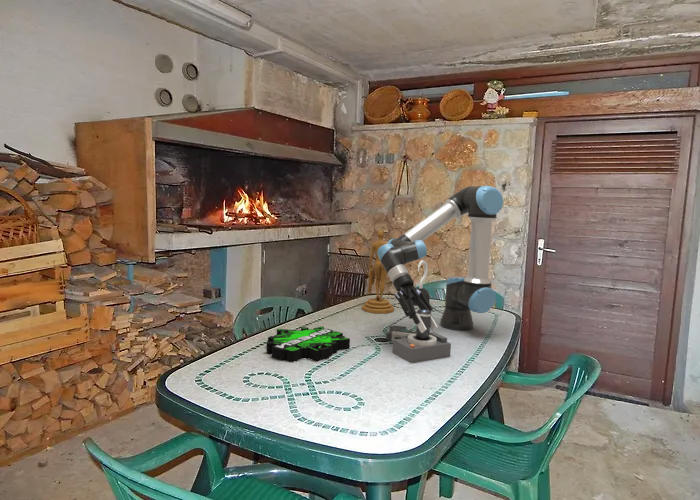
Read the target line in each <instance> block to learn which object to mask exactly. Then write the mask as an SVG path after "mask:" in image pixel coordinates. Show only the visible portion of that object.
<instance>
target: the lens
mask: <svg viewBox="0 0 700 500" xmlns="http://www.w3.org/2000/svg"><path fill="white" fill-rule="evenodd" d="M417 314H419V316H420V318H421V319H422V321H423V323H424V325H425V327H426V328H427V329H426V330H425V331H424V332H423V333H421V332H420V330H419V328H418V326H417V325H416V324H415V325H416V328H415V332H416V339H417V340H424V341H427V340H429V333H431V332H430V331H431V328H430V320H431V315H432V311H430V310H426V309H420V308H419V309H417V312H416V315H417Z"/></svg>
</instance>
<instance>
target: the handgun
mask: <svg viewBox="0 0 700 500" xmlns="http://www.w3.org/2000/svg"><path fill="white" fill-rule="evenodd" d="M388 329H389V330H388V332H387V333H386V334H385V339H386V341H390V342H392V343H393V340H394V339H401V338H408V335H410V334H416V331H410V330H408V329H407V326H400V325H389V328H388Z"/></svg>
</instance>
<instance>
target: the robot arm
mask: <svg viewBox="0 0 700 500" xmlns="http://www.w3.org/2000/svg"><path fill="white" fill-rule="evenodd" d="M503 204H504V198H503V195H502V193H501V192H500V190H499V189H498V188H497V187H494V186H489V185H470V186H466V187H463V188H462V189H461V190H459V191H457V192H456V193H454V194H453V195H451V196H450V197H449V198H447V199H446V200H445V202H444V204H443V205H441V206H440V207H438V208H437V209H436V210H435V211H433V212H432V213H430V214H429V215H427V216H426V217H424V218H423V219H422V220H421V221H419V222H418V223H416V224H415V225H414V226H412V227H411V228H410V229H409V230H406V232H404V233H403V234H401V235H400V236H398V237H395V238H390V240H388V241H387V242H386V243H387V244H385V245H383V246H381V247H380V248H379V249H378V251H377V255H378V257H379V260H380V262H381V263H382V265H383V267H384V268H385V270H386V272H387V276H388V278H389V279H390V281H391V283H392V285H393V287H394V288H395V290H396V293H395V294H394V297H395V299H396V300H397V302H398V303H399V305H400V307H401V310H402V311H403V314H404V315H405V316H406V317H407V318H409V319H410V320H411V319H412V321H413V322H414V324H415V325H417V326H418V328H419V330H420V332H421V333H423V332H424V331H425V330H426V329H427V328H426V327H425V325H424V323H423V321H422V319H421V318H420V316H419V314H417V312H416V307H414V305H413V302H415V303H416V304H417V306H418V307H417V308H419V309H426V310H430V311H431V312H432V311H433V310H434V308H433V307H432V304H431V303H430V301H429V302H428V300H427V298H426V297H425V295H424V293H423V290H422V289H420V290H417V287H415V284H414V280H413V278H412V276H411V275H410V272H409V271H408V268H406V264H409V263H412V262H415V261H418V260H420V259H421V260H422V259H423V258H425V257H427V254H428V250H427V246H426V244H425V242H424V241H425V240H426V239H427V238H429V237H430V236H432V235H433V234H434V233H436V232H437V231H438V230H440V229H441V228H442V227H445V225H447V224H448V223H449V222H451V221H452V220H454V219H455V218H461V217H462V216H463V215H466V214H468V215H467V218H468V219H469V220H470V221H471V223H470V239H469V250H468V251H469V254H468V265H467V266H468V267H467V275H466V276H452V277H451V276H450V277H448V278H447V279H446V283H445V286H446V287H445V299H444V300H445V302H444V303H445V304H444V310H443V312H442V315H441V317H440V321H439V325H440V326H441V327H442V328H446V329H450V330H454V331H455V330H456V331H470V330H472V329H474V320H473V316H472V312H474V313H477V314H483V313H485V314H486V313H487V312H488V311H490V309H492V308H493V307H494V305H495V303H496V293H495V292H494V290H493V289H492V280H491V279H490V278H489V271H490V257H491V242H492V230H493V222H495V221H496V219H497V214H498V213H499V212H501V211H500V210H502V208H503V206H504V205H503ZM412 301H413V302H412ZM438 327H439V326H438V325H437V323H436V321H435V318H434V316H433V315H432V314H431V320H430V331H431V332H434V331H435V330H436V329H438Z"/></svg>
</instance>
